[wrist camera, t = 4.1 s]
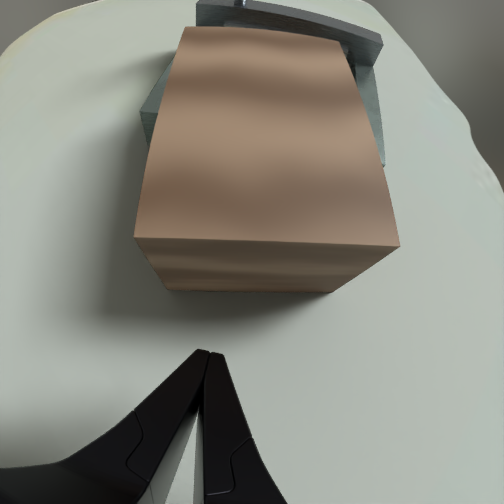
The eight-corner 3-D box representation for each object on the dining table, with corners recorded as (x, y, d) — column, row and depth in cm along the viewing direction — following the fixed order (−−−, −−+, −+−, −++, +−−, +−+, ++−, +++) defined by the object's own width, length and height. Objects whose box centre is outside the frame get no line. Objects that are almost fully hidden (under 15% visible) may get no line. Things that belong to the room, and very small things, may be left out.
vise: (363, 191, 24) (467, 51, 10) (148, 145, 23) (114, -25, 9) (358, 79, 29) (406, -26, 15) (203, 45, 29) (208, -70, 15)
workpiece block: (331, 292, 21) (400, 246, 12) (167, 290, 20) (133, 237, 11) (310, 118, 26) (338, 41, 18) (189, 110, 25) (185, 26, 17)
